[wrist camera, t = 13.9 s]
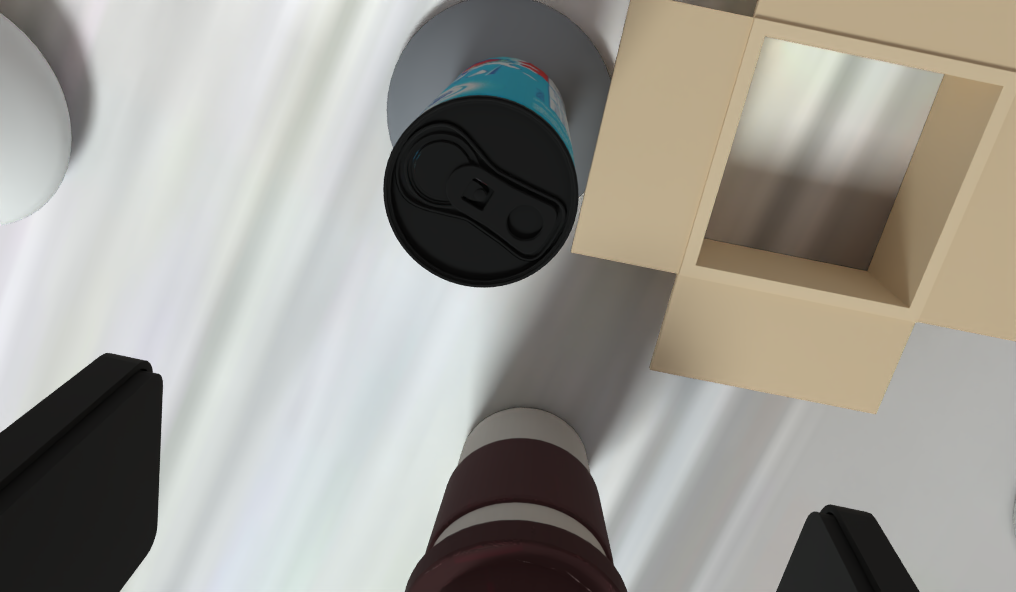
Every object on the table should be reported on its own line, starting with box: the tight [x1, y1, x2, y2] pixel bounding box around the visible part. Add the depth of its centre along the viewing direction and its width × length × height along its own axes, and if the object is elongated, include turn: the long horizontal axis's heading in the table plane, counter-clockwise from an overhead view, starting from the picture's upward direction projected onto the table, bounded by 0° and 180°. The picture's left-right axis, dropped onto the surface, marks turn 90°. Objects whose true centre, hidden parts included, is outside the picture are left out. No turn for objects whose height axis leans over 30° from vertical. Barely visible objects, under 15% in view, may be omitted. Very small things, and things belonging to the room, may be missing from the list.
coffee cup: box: [405, 408, 627, 592], centre depth 38 cm, size 10×10×15 cm
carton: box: [571, 0, 1016, 414], centre depth 35 cm, size 21×21×5 cm
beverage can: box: [383, 57, 579, 287], centre depth 30 cm, size 6×6×15 cm
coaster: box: [387, 0, 611, 197], centre depth 37 cm, size 11×11×1 cm
